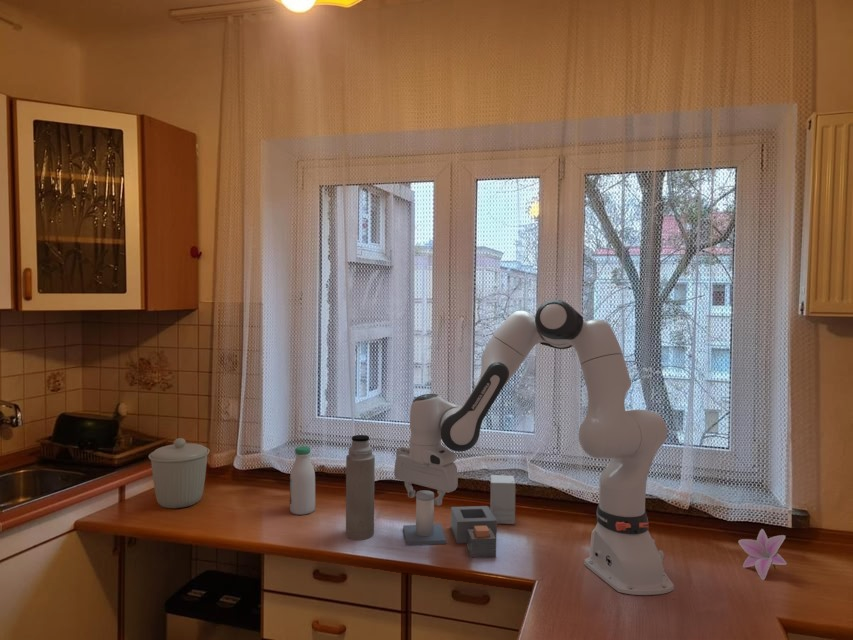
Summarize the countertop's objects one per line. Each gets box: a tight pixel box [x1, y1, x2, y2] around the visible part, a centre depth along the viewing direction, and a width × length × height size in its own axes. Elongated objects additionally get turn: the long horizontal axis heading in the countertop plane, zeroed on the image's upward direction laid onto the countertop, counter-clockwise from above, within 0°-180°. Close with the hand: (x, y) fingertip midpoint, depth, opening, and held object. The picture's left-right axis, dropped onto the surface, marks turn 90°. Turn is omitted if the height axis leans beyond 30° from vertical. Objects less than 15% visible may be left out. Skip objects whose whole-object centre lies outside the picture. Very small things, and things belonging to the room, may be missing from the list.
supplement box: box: [489, 474, 516, 525], centre depth 172 cm, size 7×7×13 cm
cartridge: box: [415, 490, 435, 536], centre depth 159 cm, size 5×5×11 cm
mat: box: [402, 523, 447, 546], centre depth 159 cm, size 11×11×1 cm
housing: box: [450, 505, 498, 544], centre depth 161 cm, size 11×11×6 cm
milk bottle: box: [289, 445, 316, 516], centre depth 177 cm, size 8×8×20 cm
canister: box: [148, 437, 211, 509], centre depth 182 cm, size 18×18×21 cm
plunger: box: [474, 526, 489, 537], centre depth 149 cm, size 3×3×6 cm
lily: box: [738, 528, 788, 581], centre depth 141 cm, size 12×12×10 cm
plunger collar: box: [466, 529, 497, 559], centre depth 150 cm, size 6×6×5 cm
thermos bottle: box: [345, 434, 376, 541], centre depth 160 cm, size 8×8×28 cm
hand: (424, 500), depth 159 cm, fingers open, 8 cm apart
